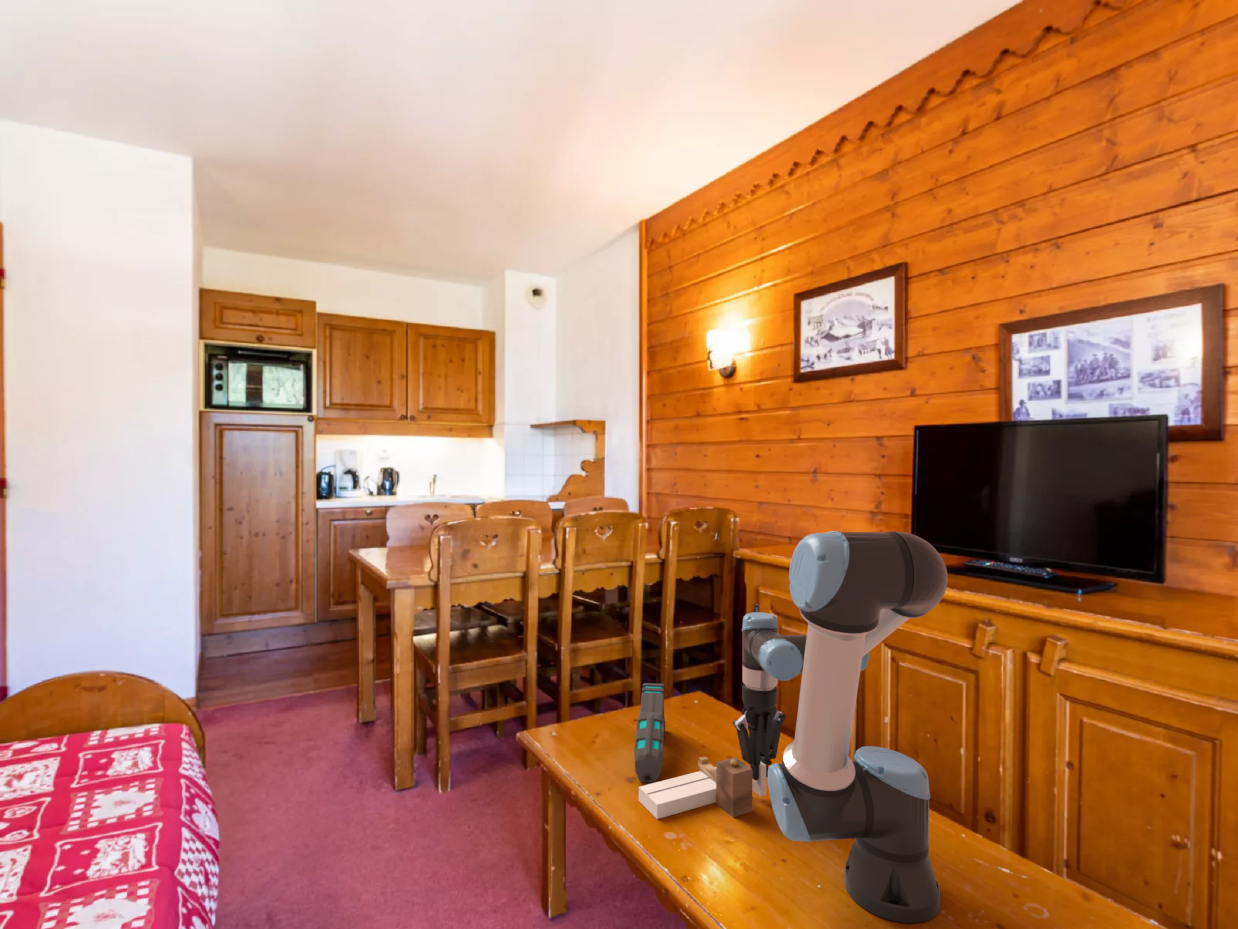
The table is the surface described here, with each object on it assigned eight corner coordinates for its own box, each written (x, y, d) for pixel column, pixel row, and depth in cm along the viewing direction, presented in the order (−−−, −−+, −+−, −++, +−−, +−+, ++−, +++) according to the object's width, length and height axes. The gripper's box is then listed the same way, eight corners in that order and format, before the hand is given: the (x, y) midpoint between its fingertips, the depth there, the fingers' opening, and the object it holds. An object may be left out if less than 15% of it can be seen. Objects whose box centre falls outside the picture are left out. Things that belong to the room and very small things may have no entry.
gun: (666, 722, 175) (665, 677, 170) (662, 810, 147) (661, 759, 142) (642, 721, 176) (641, 676, 171) (634, 809, 148) (632, 758, 143)
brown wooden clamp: (752, 811, 133) (752, 764, 133) (732, 817, 131) (733, 769, 131) (710, 778, 147) (710, 735, 147) (692, 783, 145) (692, 740, 145)
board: (742, 794, 140) (742, 780, 140) (657, 819, 130) (657, 804, 130) (721, 778, 147) (721, 765, 147) (638, 800, 137) (638, 786, 137)
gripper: (771, 675, 144) (771, 778, 144) (725, 684, 138) (724, 791, 138) (794, 685, 137) (794, 793, 137) (746, 695, 131) (745, 808, 132)
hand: (759, 792), depth 138 cm, fingers closed
